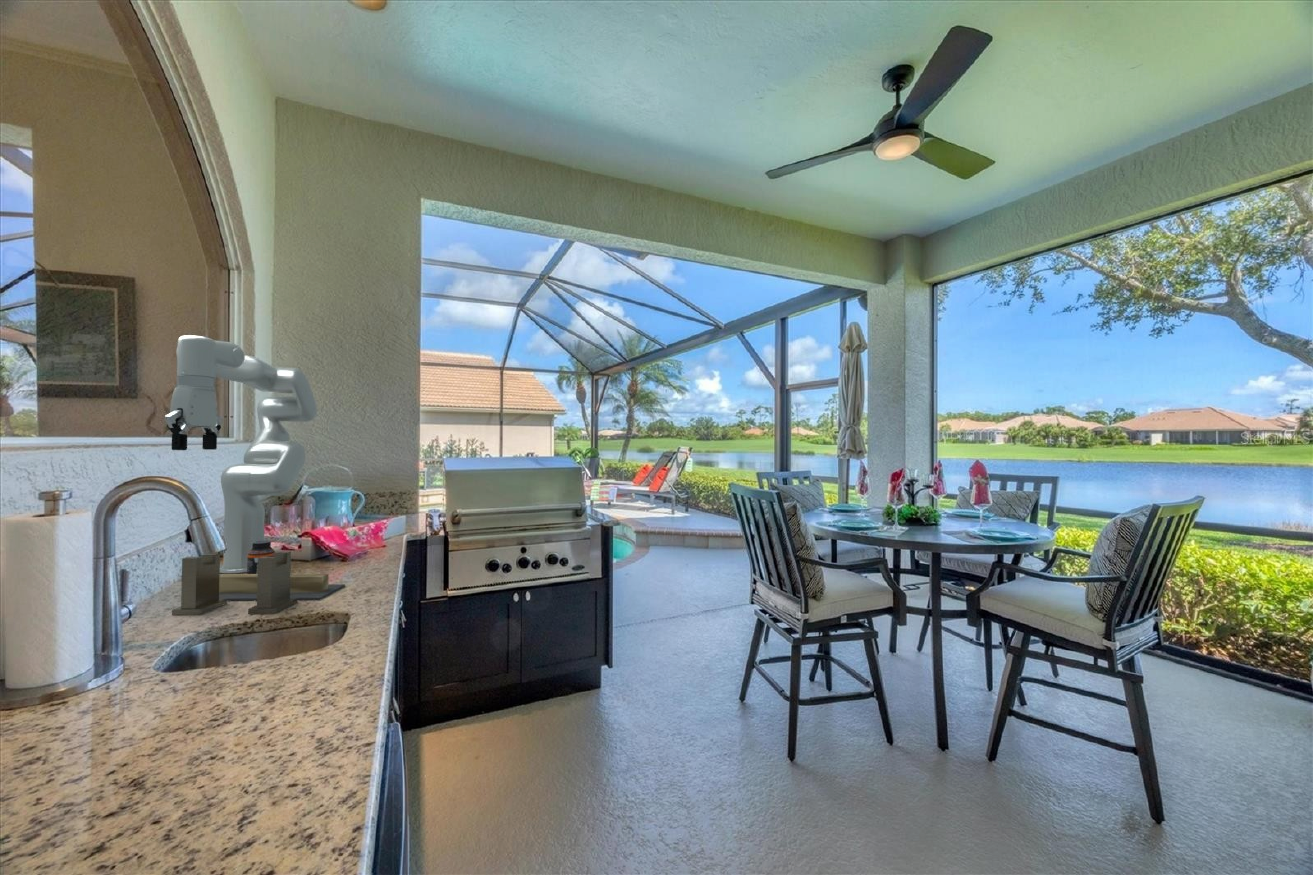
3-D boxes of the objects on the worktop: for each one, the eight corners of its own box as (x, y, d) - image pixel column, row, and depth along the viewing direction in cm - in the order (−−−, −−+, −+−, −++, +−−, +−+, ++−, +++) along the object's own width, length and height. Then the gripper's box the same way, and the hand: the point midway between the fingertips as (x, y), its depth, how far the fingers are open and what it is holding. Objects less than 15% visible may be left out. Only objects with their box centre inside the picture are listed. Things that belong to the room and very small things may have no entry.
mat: (226, 587, 137) (226, 585, 137) (344, 586, 139) (344, 584, 139) (189, 601, 125) (189, 598, 125) (319, 600, 127) (319, 597, 127)
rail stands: (200, 603, 123) (201, 551, 123) (297, 602, 125) (298, 551, 125) (171, 615, 115) (173, 558, 115) (276, 614, 117) (277, 558, 117)
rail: (221, 589, 133) (222, 574, 133) (328, 589, 135) (328, 573, 135) (212, 593, 130) (213, 577, 130) (321, 592, 132) (322, 576, 132)
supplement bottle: (262, 586, 138) (263, 544, 138) (240, 586, 138) (241, 543, 139) (279, 580, 144) (280, 539, 144) (258, 580, 144) (259, 539, 145)
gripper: (207, 387, 143) (205, 449, 143) (151, 379, 126) (149, 450, 126) (235, 387, 144) (234, 449, 144) (184, 380, 126) (182, 450, 126)
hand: (194, 449), depth 135 cm, fingers open, 9 cm apart
